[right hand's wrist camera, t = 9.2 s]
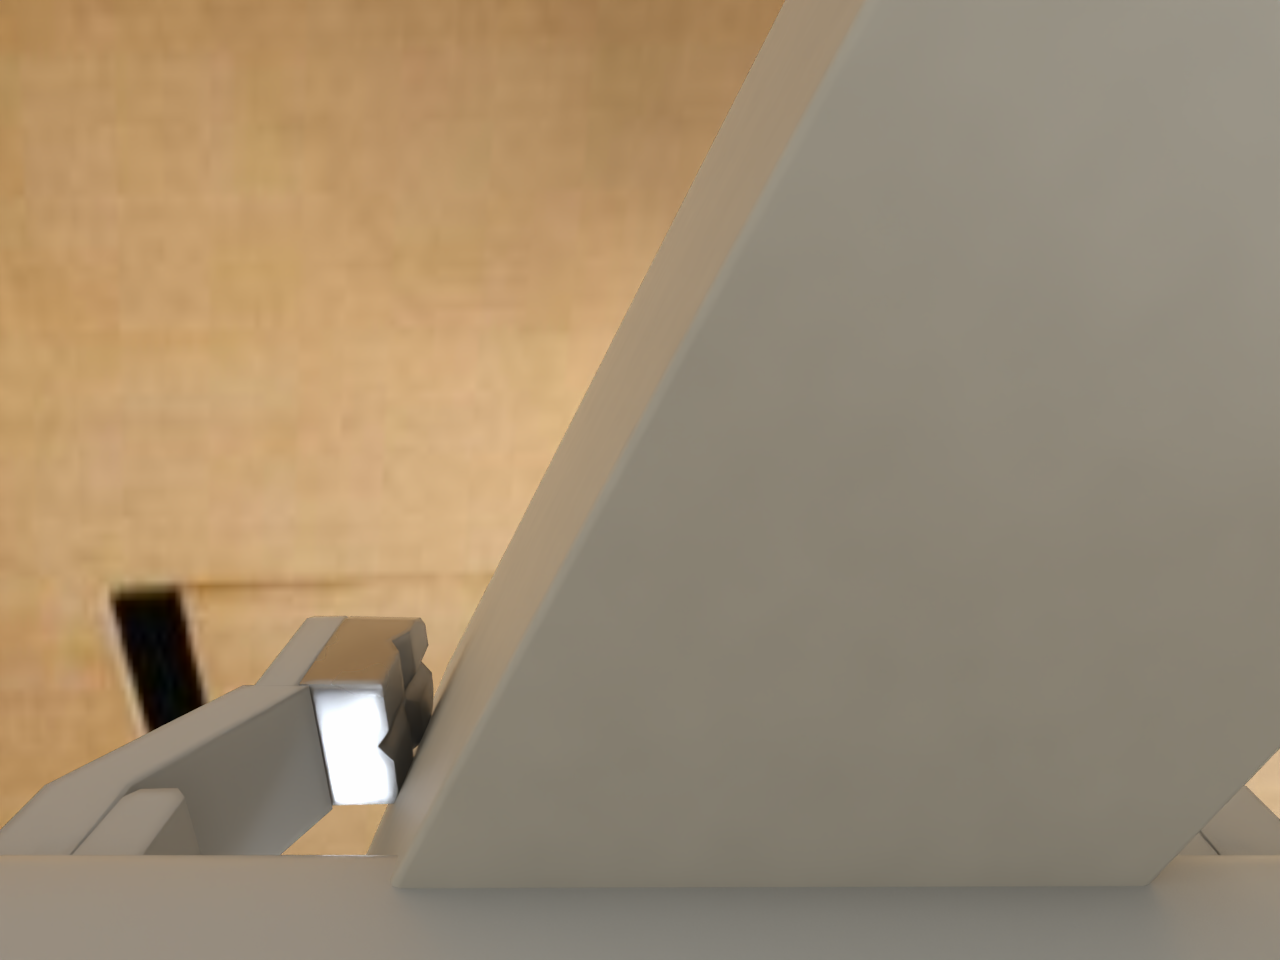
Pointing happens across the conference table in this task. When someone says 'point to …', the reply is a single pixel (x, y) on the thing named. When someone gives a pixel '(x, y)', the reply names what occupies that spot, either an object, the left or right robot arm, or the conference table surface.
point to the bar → (906, 482)
